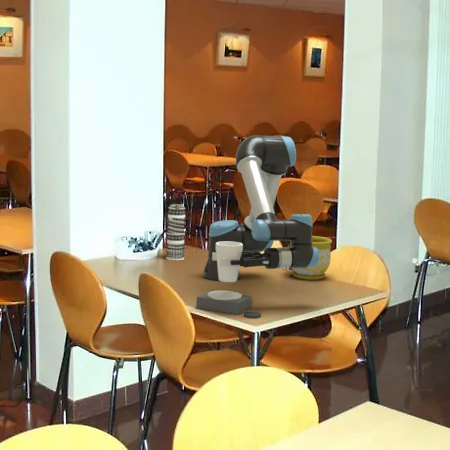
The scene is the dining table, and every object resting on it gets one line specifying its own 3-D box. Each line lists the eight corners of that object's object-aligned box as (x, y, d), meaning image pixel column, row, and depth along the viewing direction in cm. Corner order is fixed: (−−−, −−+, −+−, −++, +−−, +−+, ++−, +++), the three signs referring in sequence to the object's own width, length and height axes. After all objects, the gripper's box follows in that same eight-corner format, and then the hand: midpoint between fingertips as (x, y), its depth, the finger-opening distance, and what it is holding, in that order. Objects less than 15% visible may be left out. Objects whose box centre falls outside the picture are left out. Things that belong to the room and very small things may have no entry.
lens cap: (240, 317, 280) (240, 314, 280) (248, 313, 285) (248, 310, 285) (256, 320, 277) (256, 316, 277) (263, 316, 282) (264, 313, 282)
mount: (196, 307, 289) (196, 294, 288) (211, 301, 300) (211, 288, 299) (237, 314, 282) (238, 300, 282) (251, 307, 293) (252, 294, 292)
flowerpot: (278, 275, 349) (280, 237, 347) (303, 270, 362) (306, 234, 360) (313, 283, 337) (315, 243, 335) (337, 277, 351) (340, 239, 348)
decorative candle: (189, 258, 380) (191, 204, 376) (177, 261, 372) (179, 206, 368) (172, 255, 384) (174, 202, 380) (161, 258, 376) (162, 204, 373)
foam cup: (238, 284, 284) (240, 246, 282) (212, 281, 285) (213, 245, 283) (243, 278, 293) (244, 242, 291) (217, 276, 295) (219, 240, 293)
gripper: (287, 275, 284) (225, 276, 277) (265, 262, 304) (207, 263, 298) (288, 253, 282) (226, 254, 276) (266, 242, 303) (208, 243, 297)
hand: (216, 259), depth 287 cm, fingers closed on foam cup, 9 cm apart
